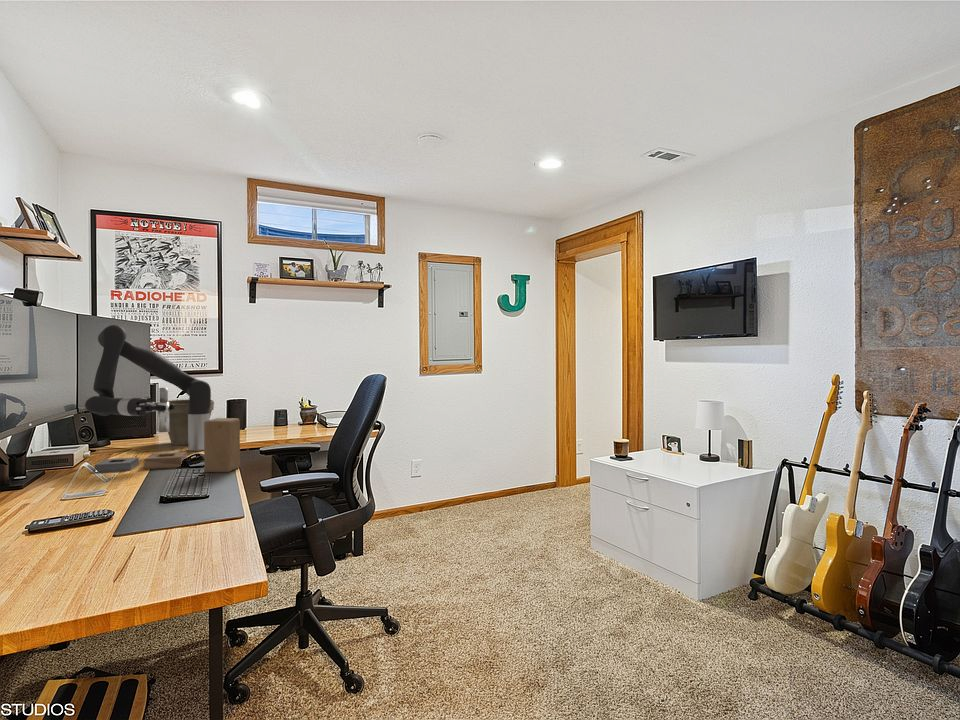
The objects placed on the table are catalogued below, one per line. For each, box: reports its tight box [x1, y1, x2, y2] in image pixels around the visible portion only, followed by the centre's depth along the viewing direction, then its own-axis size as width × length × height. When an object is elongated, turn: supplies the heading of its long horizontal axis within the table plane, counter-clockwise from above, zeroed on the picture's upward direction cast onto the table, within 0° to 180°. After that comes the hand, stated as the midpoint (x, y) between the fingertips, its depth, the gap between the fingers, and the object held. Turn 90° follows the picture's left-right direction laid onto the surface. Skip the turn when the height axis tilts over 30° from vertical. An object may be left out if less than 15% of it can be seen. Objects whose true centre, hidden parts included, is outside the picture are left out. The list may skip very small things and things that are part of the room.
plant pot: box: [167, 398, 215, 446], centre depth 280 cm, size 25×25×22 cm
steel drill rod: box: [157, 387, 169, 433], centre depth 223 cm, size 4×4×18 cm
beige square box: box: [143, 451, 188, 470], centre depth 223 cm, size 13×13×4 cm
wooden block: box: [203, 417, 241, 473], centre depth 213 cm, size 10×10×20 cm
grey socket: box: [94, 457, 140, 473], centre depth 216 cm, size 12×12×3 cm
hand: (169, 407), depth 222 cm, fingers closed on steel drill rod, 4 cm apart
